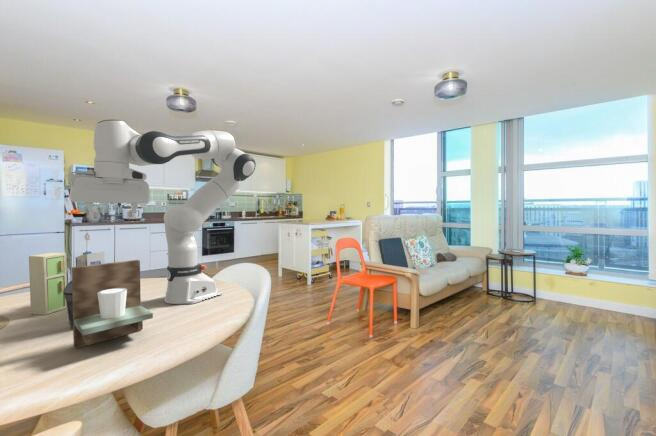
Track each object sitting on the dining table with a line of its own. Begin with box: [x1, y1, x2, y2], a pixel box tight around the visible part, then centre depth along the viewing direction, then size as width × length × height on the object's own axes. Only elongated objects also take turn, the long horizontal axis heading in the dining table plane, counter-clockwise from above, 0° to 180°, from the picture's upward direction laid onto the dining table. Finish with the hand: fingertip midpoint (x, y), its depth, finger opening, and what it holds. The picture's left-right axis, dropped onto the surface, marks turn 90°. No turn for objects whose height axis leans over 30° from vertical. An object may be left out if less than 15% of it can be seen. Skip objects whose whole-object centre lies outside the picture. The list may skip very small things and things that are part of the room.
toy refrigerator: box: [28, 252, 68, 316], centre depth 111 cm, size 8×7×21 cm
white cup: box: [97, 288, 127, 319], centre depth 86 cm, size 7×7×7 cm
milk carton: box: [75, 251, 105, 267], centre depth 124 cm, size 7×7×20 cm
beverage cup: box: [64, 265, 83, 331], centre depth 97 cm, size 7×7×20 cm
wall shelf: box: [71, 259, 154, 349], centre depth 86 cm, size 16×12×22 cm
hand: (113, 217), depth 94 cm, fingers open, 8 cm apart
